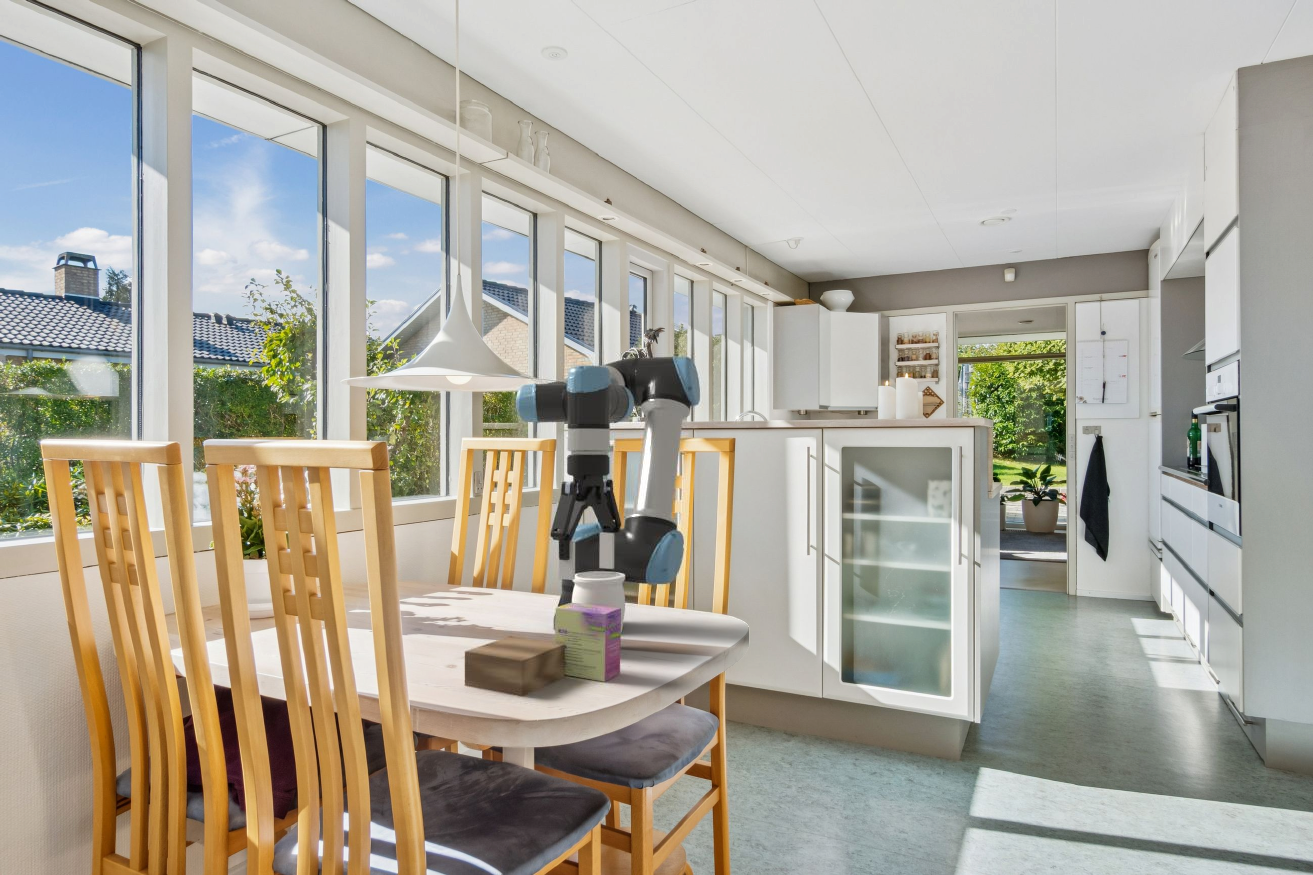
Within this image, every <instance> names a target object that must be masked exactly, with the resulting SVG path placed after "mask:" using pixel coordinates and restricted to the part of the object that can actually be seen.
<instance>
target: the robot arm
mask: <svg viewBox="0 0 1313 875" xmlns="http://www.w3.org/2000/svg"><path fill="white" fill-rule="evenodd" d="M567 374H568V375H567V378H564V379H560V380H555V381H552V382H548V383H535V382H534V383H532V384H531V383H530V384H524V385H522V386H521V387H520V388H519V389H518V391H517V393H516V398H515V399H516V400H515V405H516V406H515V407H516V413H517V414H518V416H519V419H521V420H522V422H526V423H536V424H539V423H567V436H566V439H567V451H568V452H570V454H568V455H567V457H566V459H567V460H566V473H567V475H569V476H572V481H562V482H561V489H560V497H559V501H558V505H557V508H556V511H555V515H554V519H553V523H552V526H551V530H550V538H552V540H554V541H558V579H561V594H560V598H559V601H558V604H557V606H556V607H559V606H562V605H566V604H568V603H572V595H573V589H574V586H575V583H574V582H573V581H572V580H574V579H575V574H578V573H583V572H594V571H607V572H618V573H622V574H624V575H625V580H624V581H623V582H622V583H628V584H643V585H644V584H645V585H649V586H654V585H668V584H670V583H672V582H673V581H674V580H675V579H676V577H677V576H678V573H679V572H680V570H681V569H680V568H681V566H682V562H683V557H684V551H685V550H684V549H685V548H684V545H685V541H684V539H685V538H684V534H683V533H682V532H681V531H679V530H678V523H677V522H676V521H675V520H674V519H673V516H672V514H673V506H674V498H675V488H676V480H677V472H678V471H677V470H678V463H679V462H678V461H679V455H680V454H679V453H680V452H679V451H680V446H681V439H682V438H681V436H682V429H683V428H682V427H683V421H684V420H685V419H687V418H688V417H689V416H690V414H691V406H692V407H696V406H698V405H699V403H700V399H701V387H700V380H699V379H700V378H699V374H698V370H697V367H696V364H695V362H694V360H693V359H692V358H690V357H689V356H676V355H673V356H660V357H659V356H657V357H629V358H625V359H624V358H623V359H619V360H616V361H613V362H609V363H606V364H603V365H575V366H572V367H571V368H570V369H569V370H568V373H567ZM634 407H640V410H641V412H642V413H643V414H644V415H645V421H644V428H643V429H644V430H643V435H642V436H643V437H642V443H641V451H640V457H639V458H640V460H639V464H638V465H639V466H638V474H637V481H636V488H635V497H634V504H633V511H632V513H631V514H629V515H628V516H627V517H625V520H624V526H623V527H622V522H621V518H620V514H619V509H618V505H617V502H616V501H617V500H616V496H615V493H614V481H613V479H610V478H609V479H606V478H605V479H604V476H609V475H610V470H611V469H610V463H611V461H610V460H611V459H610V458H611V457H610V456H609V454H607V452H610V450H611V436H610V435H611V434H610V431H611V430H610V429H611V426H610V424H617V423H622V422H623V421H625V420H627V419H629V417H630V416H631V414H632V413H633V412H634V411H633V410H634ZM589 507H591V508H592V510H593V512H594V515H595V517H596V519H597V522H589V523H582V524H579V523H580V522H581V519H582V516H583V514H584V512H585V510H587V509H588V508H589ZM621 527H622V528H621ZM555 617H556V611H555V613H554V617H553V630H555Z"/></svg>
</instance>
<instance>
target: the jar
mask: <svg viewBox="0 0 1313 875" xmlns="http://www.w3.org/2000/svg"><path fill="white" fill-rule="evenodd" d="M624 580H625V575H624V574H622V573H618V572H607V571H594V572H583V573H578V574H575V579H574V580H572V581H573V582H574V583H575V586H574V589H573V595H572V603H579V604H587V605H596V606H604V607H612V608H621V633H622V631H623V626H624V619H625V612H626V597H625V589H624V586H623V585H624V584H623V583H624V582H623V581H624Z"/></svg>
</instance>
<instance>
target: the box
mask: <svg viewBox="0 0 1313 875" xmlns="http://www.w3.org/2000/svg"><path fill="white" fill-rule="evenodd" d="M555 612H556V617H555V631H554V643H560V644H565V676H570V677H576V678H580V679H587V680H593V681H598V682H601V683H605V682H607V681H611V679H614V678H615V677H617V676H619V675H620V674H621V642H622V640H621V639H622V638H621V637H622V636H621V635H622V632H621V608H612V607H604V606H596V605H587V604H579V603H568V604H566V605H562V606H559V607H557V606H556V607H555Z"/></svg>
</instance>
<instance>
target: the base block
mask: <svg viewBox="0 0 1313 875" xmlns="http://www.w3.org/2000/svg"><path fill="white" fill-rule="evenodd" d="M565 677H566V675H565V644H560V643H555V641H554V642H553V641H552V642H551V641H547V640H546V641H545V640H539V639H532V638H525V637H519V636H511V635H509V636H506V637H504V638H500V639H497V640H495V641H491V642H488V643H486V644H483V645H480V646H477V647H473V648H471V649H467V650H465V651H464V686H465V687H471V688H476V689H480V690H486V691H492V692H496V693H501V694H506V695H513V696H516V695H517V697H524V696H526V695H529V694H530V693H532V692H535V691H537V690H539V689H541V688H544V687H546V686H547V685H551V684H552V683H554V682H557V681H559V680H561V679H563V678H565ZM523 695H524V696H523Z"/></svg>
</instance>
